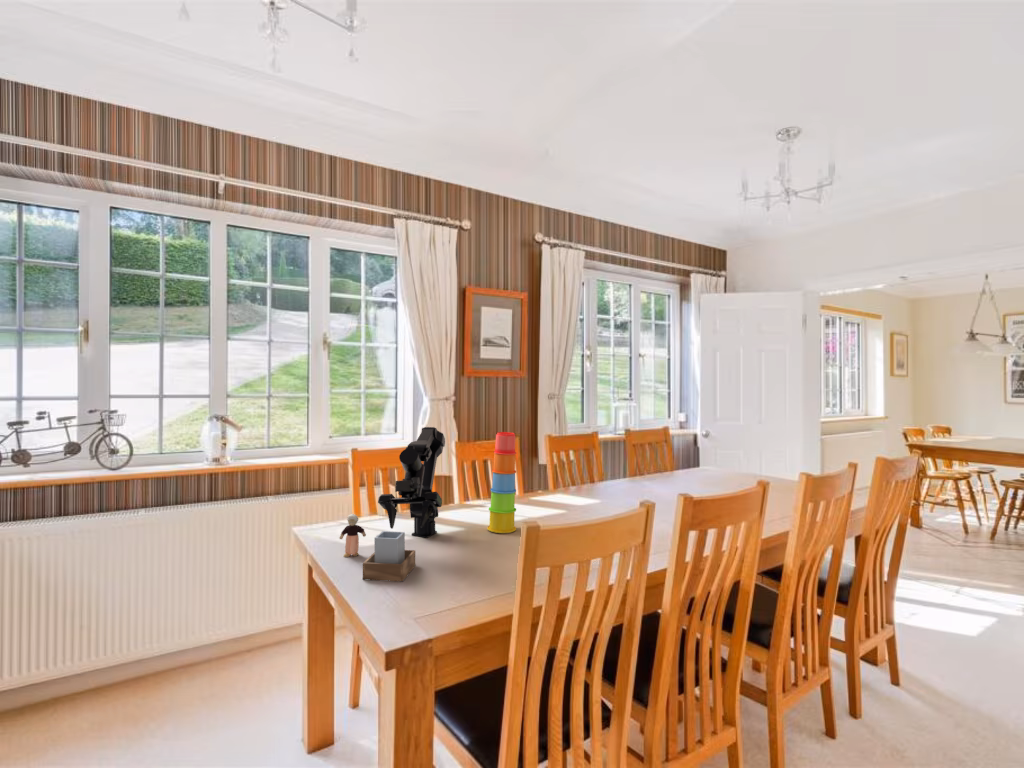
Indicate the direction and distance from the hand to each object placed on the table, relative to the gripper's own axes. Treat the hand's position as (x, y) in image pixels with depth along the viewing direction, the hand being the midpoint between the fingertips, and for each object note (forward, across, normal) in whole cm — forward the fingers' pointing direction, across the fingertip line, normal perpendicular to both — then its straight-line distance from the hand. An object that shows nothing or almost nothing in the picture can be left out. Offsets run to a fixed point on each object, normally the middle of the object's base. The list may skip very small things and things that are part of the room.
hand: (406, 527), depth 151 cm
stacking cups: (-11, +22, +34) cm, 42 cm away
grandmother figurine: (+6, -19, +7) cm, 21 cm away
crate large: (+13, -2, -1) cm, 14 cm away
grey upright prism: (+13, -2, -2) cm, 13 cm away
